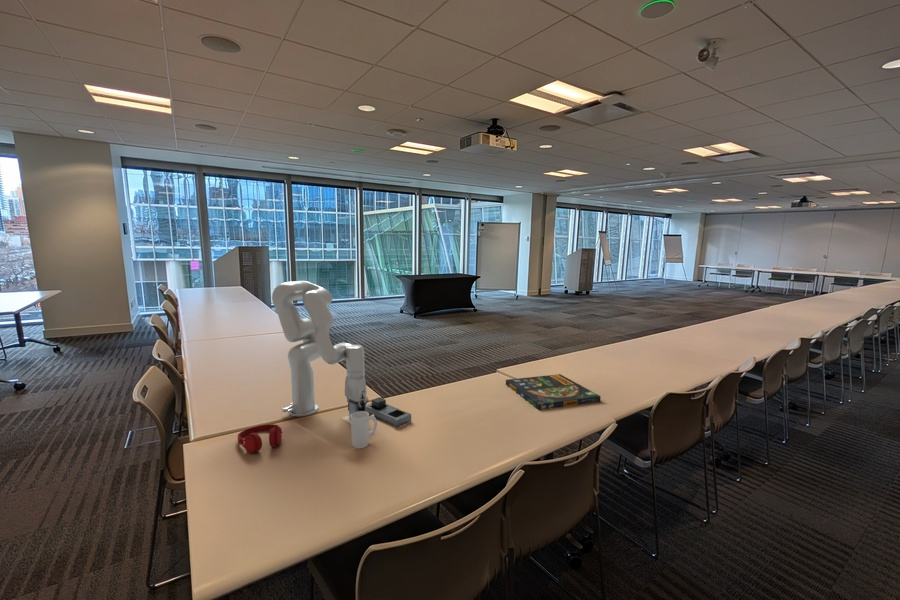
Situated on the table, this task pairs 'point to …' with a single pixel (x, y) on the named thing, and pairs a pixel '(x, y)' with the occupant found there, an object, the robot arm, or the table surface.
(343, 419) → the coaster
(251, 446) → the headphones
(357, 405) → the plug
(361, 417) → the mug
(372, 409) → the pdu strip
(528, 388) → the pizza box
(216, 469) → the table surface
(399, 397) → the table surface
